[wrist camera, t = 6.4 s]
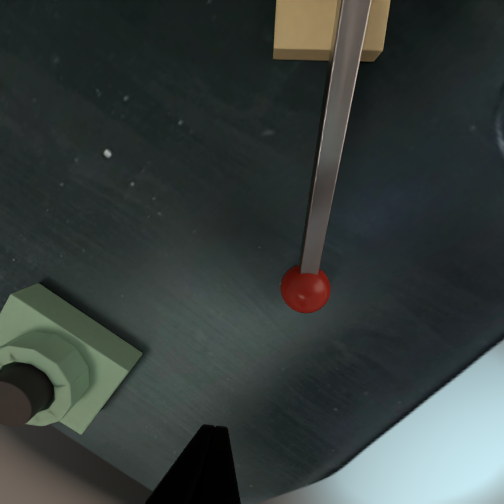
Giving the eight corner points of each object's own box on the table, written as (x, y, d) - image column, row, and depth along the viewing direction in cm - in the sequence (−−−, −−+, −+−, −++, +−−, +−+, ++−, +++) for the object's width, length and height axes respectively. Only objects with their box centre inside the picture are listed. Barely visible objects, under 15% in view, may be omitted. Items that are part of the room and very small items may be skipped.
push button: (63, 381, 17) (41, 402, 15) (42, 413, 18) (18, 436, 16) (18, 352, 17) (-11, 370, 15) (-2, 386, 17) (-31, 407, 16)
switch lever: (321, 293, 18) (330, 325, 15) (278, 290, 18) (279, 322, 15) (443, -281, 7) (550, -528, 5) (336, -276, 7) (375, -512, 5)
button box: (143, 353, 20) (114, 390, 16) (99, 411, 22) (62, 458, 18) (38, 282, 19) (-19, 304, 15) (1, 350, 21) (-60, 385, 17)
